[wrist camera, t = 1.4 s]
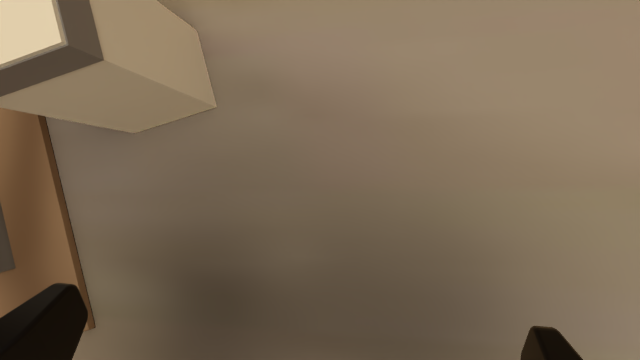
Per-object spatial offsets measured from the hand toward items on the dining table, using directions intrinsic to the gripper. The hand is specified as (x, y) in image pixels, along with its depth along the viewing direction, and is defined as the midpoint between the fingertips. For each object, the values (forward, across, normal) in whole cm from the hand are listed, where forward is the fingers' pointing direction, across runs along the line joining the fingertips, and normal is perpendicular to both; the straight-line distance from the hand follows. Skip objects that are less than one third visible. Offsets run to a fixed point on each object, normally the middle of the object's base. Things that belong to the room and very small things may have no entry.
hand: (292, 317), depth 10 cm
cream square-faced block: (+16, +9, +2) cm, 18 cm away
